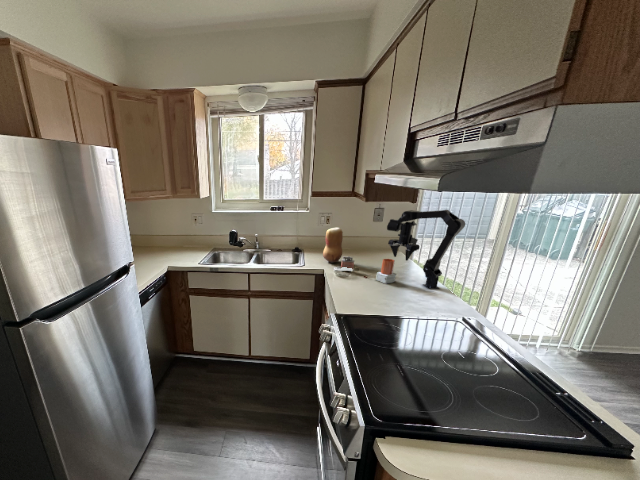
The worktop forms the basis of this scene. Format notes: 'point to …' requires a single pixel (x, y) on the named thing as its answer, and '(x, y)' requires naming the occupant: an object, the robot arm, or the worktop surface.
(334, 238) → the butternut squash
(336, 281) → the worktop surface
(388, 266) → the cup
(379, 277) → the small box
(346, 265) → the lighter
